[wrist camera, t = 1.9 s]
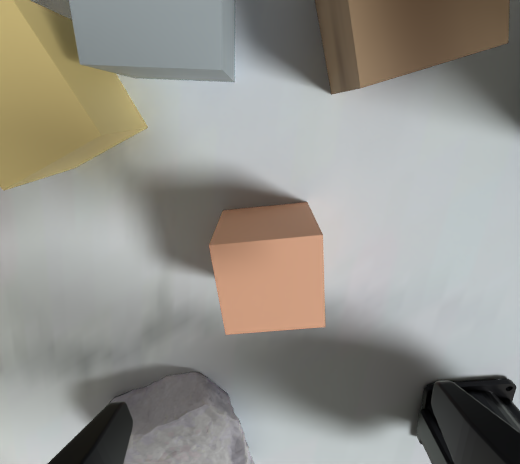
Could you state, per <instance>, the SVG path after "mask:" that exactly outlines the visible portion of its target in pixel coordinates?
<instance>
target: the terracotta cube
mask: <svg viewBox="0 0 520 464" xmlns="http://www.w3.org/2000/svg"><path fill="white" fill-rule="evenodd" d="M209 249H210V254H211V260H212V265H213V270H214V275H215V281H216V286H217V291H218V297H219V302H220V307H221V312H222V318H223V323H224V328H225V334H226V335H229V334H242V333H255V332H268V331H281V330H294V329H306V328H319V327H325V297H324V260H323V234H322V232H321V230H320V228H319V226H318V224H317V222H316V220H315V217H314V215H313V213H312V211H311V209H310V207H309V205H308V203H307V202H302V203H292V204H282V205H272V206H261V207H251V208H241V209H231V210H223V211H222V214H221V216H220V219H219V221H218V224H217V226H216V229H215V231H214V234H213V236H212V239H211V241H210V244H209Z"/></svg>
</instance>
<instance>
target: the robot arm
mask: <svg viewBox="0 0 520 464" xmlns="http://www.w3.org/2000/svg"><path fill="white" fill-rule="evenodd" d="M515 390H516V385H515V384H514V383H513V382H512V381H511V380H509V379H501V380H486V381H470V382H455V383H454V382H452V381H448V380H446V381H436V382H435V383H434V384H429V385H427V386H426V387H425V388H424V394H423V401H422V407H421V410H420V412H419V419H418V426H417V433H418V434H417V438H418V440H419V442H420V443H421V444H423V446H424V448H425V450H426V452H427V454H428V456H429V459H430V461H431V463H432V464H520V410H519V409H518V408H517V407H516V406H515V405H514V403H513V402H512V400H513V397H514V394H515ZM132 428H133V419H132V416H131V414H130V411H129V408H128V406H127V404H126V402H124V401H119V402H111V403H110V404H108V405H107V406H106V407H105V408H104V409H103V410H102V411H101V412H100V413H99V414H98V415H97V416H96V417H95V418H94V419H93V420H92V421H91V422H90V423H89V424H88V425H87V426H86V427H85V428H84V429H83V430H82V431H81V432H80V433H79V434H77V435H76V436H75V437H74V438H73V439H72V440H71V441H70V442H69V443H68V444H67V445H66V446H65V447H64V448H63V449H62V450H61V451H60V452H59V453H58V454H57V455H56V456H55V457H54V458H53V459H52V460H51V461H50V462H49V463H48V464H124V460H125V456H126V452H127V448H128V444H129V440H130V436H131V432H132Z"/></svg>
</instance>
